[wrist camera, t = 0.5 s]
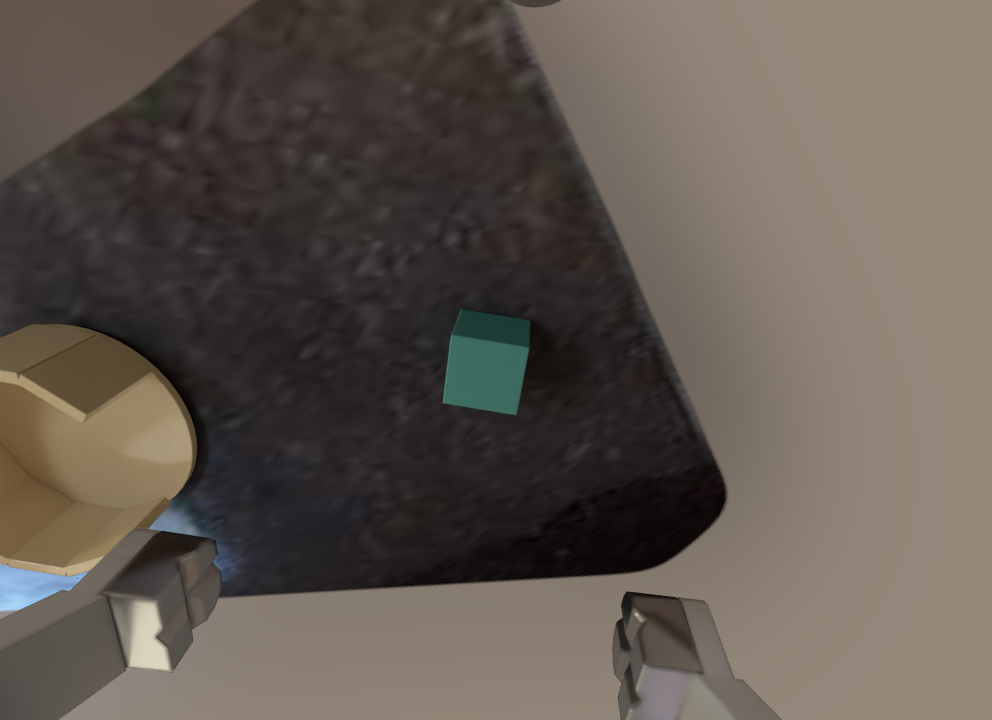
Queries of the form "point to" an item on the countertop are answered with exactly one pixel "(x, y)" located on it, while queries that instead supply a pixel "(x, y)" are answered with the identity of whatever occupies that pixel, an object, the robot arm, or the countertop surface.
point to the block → (487, 362)
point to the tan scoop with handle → (83, 446)
